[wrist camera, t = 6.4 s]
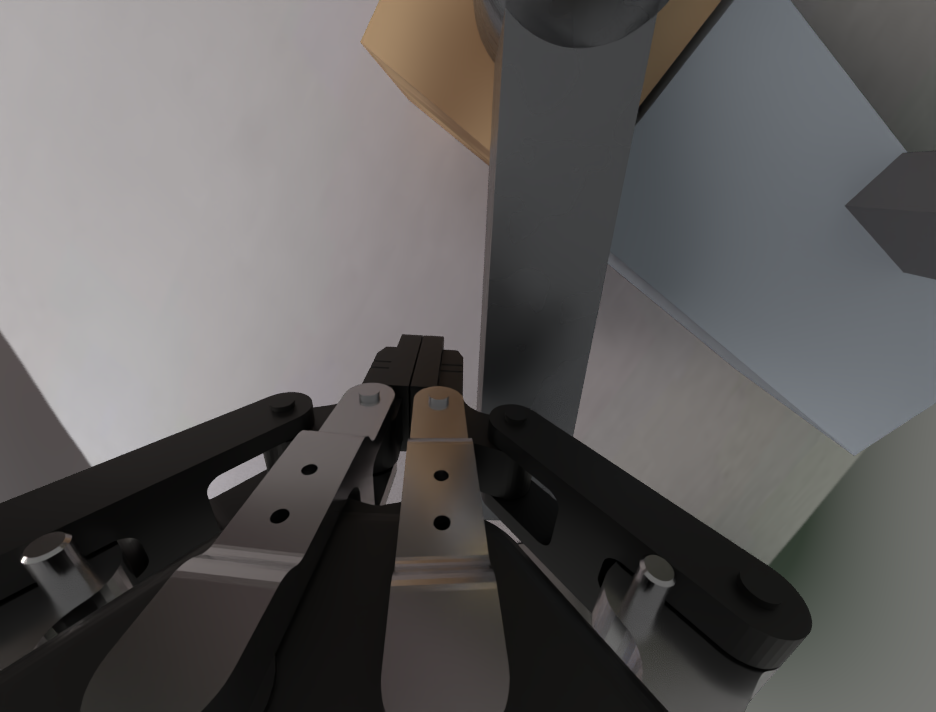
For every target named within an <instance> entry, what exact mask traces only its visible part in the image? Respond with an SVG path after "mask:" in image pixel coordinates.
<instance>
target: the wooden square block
mask: <svg viewBox="0 0 936 712" xmlns="http://www.w3.org/2000/svg"><path fill="white" fill-rule="evenodd" d="M720 2H721V0H669V2H668V3H667V4H666V5H665V6H664V7H663V8H662V9H661V10H660V11H659V12H658V13H657V18H656V23H655V28H654V33H653V38H652V43H651V48H650V53H649V58H648V63H647V68H646V73H645V78H644V83H643V88H642V93H641V98H640V103H639V106H640V105H641V104H642V102H643V101H644V100H645V98H646V97H647V96H648V95H649V93H650V92H651V91H652V89H653V88H654V87H655V86H656V84H657V83H658V82H659V80H660V79H661V78H662V76H663V75H664V74H665V73H666V71H667V70H668V69H669V67H670V66H671V65H672V64H673V62H674V61H675V60H676V58H677V57H678V56H679V55H680V53H681V52H682V51H683V49H684V48H685V47H686V45H687V44H688V43H689V42H690V40H691V39H692V38H693V36H694V35H695V34H696V33H697V31H698V30H699V29H700V27H701V26H702V25H703V23H704V22H705V21H706V20H707V18H708V17H709V16H710V14H711V13H712V12H713V11H714V9H715V8H716V7H717V5H718V4H719V3H720ZM361 44H362V45H363V46H364V47H365V48H366V50H367V51H368V52H369V53H370V54H371V56H372V57H373V58H374V59H375V60H376V61H377V63H378V64H379V65H380V66H381V67H382V69H383V70H384V71H385V72H386V73H387V75H388V76H389V77H390V78H391V79H392V81H393V82H394V83H395V84H396V85H397V87H398V88H399V89H400V90H401V91H402V92H403V94H404V95H405V96H406V97H407V98H408V100H410V101H411V102H412V103H413V104H415V105H416V106H417V107H418V108H419V109H421V110H422V111H423V112H424V113H425V114H427V115H428V116H429V117H430V118H432V119H433V120H434V121H435V122H436V123H438V124H439V125H440V126H441V127H442V128H444V129H445V130H446V131H447V132H449V133H450V134H451V135H452V136H453V137H455V138H456V139H457V140H458V141H459V142H461V143H462V144H463V145H464V146H466V147H467V148H468V149H469V150H470V151H472V152H473V153H474V154H475V155H476V156H478V157H479V158H480V159H481V160H483V161H484V162H485V163H486V164H487V165H489V161H490V142H491V123H492V104H493V85H494V66H495V64H494V62H493V61H492V59H491V58H490V56H489V55H488V53H487V51H486V49H485V47H484V45H483V43H482V41H481V38H480V35H479V32H478V29H477V24H476V20H475V14H474V5H473V0H379V3H378V5H377V7H376V9H375V11H374V13H373V16H372V18H371V20H370V22H369V24H368V27H367V29H366V31H365V33H364V35H363V37H362V40H361Z"/></svg>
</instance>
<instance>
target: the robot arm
mask: <svg viewBox="0 0 936 712" xmlns="http://www.w3.org/2000/svg"><path fill="white" fill-rule="evenodd" d="M400 451H407V452H406V462H405V471H404V481H403V491H402V501H401V502H399V503H393V504H387V505H385V504H386V501H387V499H388V496H389V493H390V490H391V487H392V484H393V481H394V478H395V475H396V472H397V460H398V457H399V453H400ZM262 453H263V454H264V458H265V463H266V467H267V470H265V471H263V472H261V473H259V474H257V475H255V476H254V477H252V478H250V479H248V480H246V481H244V482H242V483H241V484H239V485H237V486H235V487H233V488H231V489H229V490H227V491H226V492H224V493H222V494H220V495H218V496H216V497H214V498H212V499H210V500H209V499H208V496H207V489H208V487H209V485H210V483H211V482H212V481H213V480H214V479H215V478H216V477H217V476H219V475H221V474H222V473H224V472H226V471H228V470H230V469H232V468H234V467H236V466H238V465H240V464H242V463H244V462H246V461H248V460H250V459H252V458H254V457H256V456H258V455H260V454H262ZM532 476H533V477H534V478H535V479H537V480H538V481H539V482H540V483H541V484H543V485H544V486H545V487H546V488H547V489H549V490H550V491H551V492H552V494H553V495H554V496H555V498H556V500H557V501H556V500H555V499H554V498H553V497H551V496H550V495H549V494H548V493H547V492H546V491H544V490H543V489H542V488H541V487H540V486H538V485H537V484H536V483H535V482H534V481H532V480H531V478H532ZM480 492H481V496H480ZM481 498H482V500H483V502H484V504H485V505H486V506H487V507H488V508H489V509H490V510H491V511H492V512H493V513H494V514H495V515H496V516H497V517H498V518H499V519H500V520H501V521H502V522H503V523H504V524H505V525H506V526H507V527H508V528H509V529H510V531H511V532H512V533H513V534H514V535H515V536H516V537H517V538H518V539H519V540H520V541H521V542H522V543H523V544H517V543H516V542H515V541H514V540H513V539H512V538H511V537H510V536H509V535H508V534H506V533H505V532H504V531H503V530H501V529H500V528H498V527H497V526H495V525H494V524H492V523H490V522H488V521H486V520H484V517H483V510H482V503H481ZM811 628H812V619H811V615H810V612H809V609H808V607H807V605H806V603H805V602H804V600H803V598H802V597H801V596H800V594H799V593H798V592H797V591H796V589H795V588H794V587H793V586H792V585H791V584H790V583H789V582H788V581H787V580H786V579H785V578H784V577H782V576H781V575H780V574H779V573H778V572H776V571H775V570H773V569H772V568H771V567H769V566H768V565H766V564H765V563H763V562H762V561H760V560H759V559H757V558H756V557H754V556H753V555H751V554H749V553H748V552H746V551H745V550H743V549H742V548H740V547H739V546H737V545H736V544H734V543H733V542H731V541H730V540H728V539H727V538H725V537H724V536H722V535H721V534H719V533H718V532H716V531H715V530H713V529H712V528H710V527H709V526H707V525H706V524H704V523H703V522H701V521H700V520H698V519H697V518H695V517H693V516H692V515H690V514H689V513H687V512H686V511H684V510H683V509H681V508H680V507H678V506H677V505H675V504H674V503H672V502H671V501H669V500H668V499H666V498H665V497H663V496H662V495H660V494H659V493H657V492H656V491H654V490H653V489H651V488H650V487H648V486H647V485H645V484H644V483H642V482H641V481H639V480H637V479H636V478H634V477H633V476H631V475H630V474H628V473H627V472H625V471H624V470H622V469H621V468H619V467H618V466H616V465H615V464H613V463H612V462H610V461H609V460H607V459H606V458H604V457H603V456H601V455H600V454H598V453H597V452H595V451H594V450H592V449H591V448H589V447H588V446H586V445H585V444H583V443H581V442H580V441H578V440H577V439H575V438H574V437H572V436H571V435H569V434H568V433H566V432H565V431H563V430H562V429H560V428H559V427H557V426H556V425H554V424H553V423H551V422H550V421H548V420H547V419H545V418H544V417H542V416H541V415H539V414H538V413H536V412H535V411H533V410H531V409H529V408H527V407H524V406H521V405H515V404H505V405H500V406H498V407H496V408H494V409H493V410H492V411H491V412H490V415H489V414H485V413H482V412H478V411H476V410H474V409H472V408H470V407H469V406H468V405H467V404H466V403H465V402H464V400H463V357H462V355H461V354H460V353H459V352H458V351H456V350H444V337H441V336H422V335H405V334H402V336H401V339H400V341H399V344H398V346H397V347H385V348H384V349H382V350H381V351H379V352H378V353H377V355H376V357H375V359H374V362H373V363H372V365H371V368H370V369H369V371H368V373H367V375H366V377H365V379H364V381H363V383H362V384H359V385H356V386H354V387H352V388H350V389H349V390H347V391H346V393H345V394H344V395H343V397H342V398H341V400H340V401H339V402H338V404H334V405H328V406H321V407H314V408H313V404H312V400H311V398H310V397H309V396H307V395H305V394H302V393H297V392H287V393H280V394H276V395H273V396H270V397H267V398H265V399H262V400H260V401H257V402H255V403H252V404H250V405H247V406H245V407H242V408H240V409H237V410H235V411H232V412H229V413H227V414H224V415H222V416H219V417H217V418H214V419H212V420H209V421H207V422H204V423H202V424H199V425H197V426H194V427H192V428H189V429H187V430H184V431H182V432H179V433H176V434H174V435H171V436H169V437H166V438H164V439H161V440H159V441H156V442H154V443H151V444H149V445H146V446H144V447H141V448H139V449H136V450H134V451H131V452H129V453H126V454H123V455H121V456H118V457H116V458H113V459H111V460H108V461H106V462H103V463H101V464H98V465H96V466H93V467H91V468H88V469H86V470H83V471H81V472H78V473H76V474H73V475H71V476H68V477H65V478H63V479H61V480H58V481H55V482H53V483H50V484H48V485H45V486H43V487H41V488H38V489H35V490H33V491H30V492H28V493H25V494H23V495H20V496H17V497H15V498H12V499H10V500H7V501H5V502H2V503H0V712H745V710H746V708H747V705H748V703H749V702H750V701H751V700H752V699H753V697H754V696H755V695H756V694H757V693H758V692H759V690H760V689H761V688H762V687H763V686H764V685H765V684H766V682H767V681H768V680H769V679H770V678H771V677H772V675H773V674H774V673H775V672H776V671H777V670H778V669H779V667H780V666H781V665H782V664H783V663H784V662H785V660H786V659H787V658H788V657H789V656H790V655H791V654H792V652H793V651H794V650H795V649H796V648H797V647H798V646H799V645H800V643H801V642H802V641H803V640H804V639H805V638H806V636H807V635H808V634H809V633H810V631H811Z"/></svg>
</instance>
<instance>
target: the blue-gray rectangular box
mask: <svg viewBox="0 0 936 712" xmlns="http://www.w3.org/2000/svg"><path fill="white" fill-rule="evenodd" d="M608 264H609V265H610V266H611V267H612V268H614V269H615V270H616V271H617V272H618V273H620V274H621V275H622V276H623V277H625V278H626V279H627V280H628V281H629V282H631V283H632V284H633V285H634V286H635V287H637V288H638V289H639V290H640V291H641V292H643V293H644V294H645V295H646V296H648V297H649V298H650V299H651V300H652V301H654V302H655V303H656V304H657V305H658V306H660V307H661V308H662V309H663V310H665V311H666V312H667V313H668V314H669V315H671V316H672V317H673V318H674V319H675V320H677V321H678V322H679V323H680V324H682V325H683V326H684V327H685V328H686V329H688V330H689V331H690V332H691V333H692V334H694V335H695V336H696V337H697V338H699V339H700V340H701V341H702V342H703V343H705V344H706V345H707V346H708V347H709V348H711V349H712V350H713V351H714V352H716V353H717V354H718V355H719V356H720V357H722V358H723V359H724V360H725V361H726V362H728V363H729V364H730V365H731V366H733V367H734V368H735V369H736V370H738V371H739V372H740V373H742V374H743V375H745V376H746V377H747V378H749V379H750V380H751V381H753V382H754V383H755V384H757V385H758V386H760V387H761V388H762V389H764V390H765V391H766V392H768V393H769V394H770V395H772V396H773V397H775V398H776V399H777V400H779V401H780V402H781V403H783V404H784V405H786V406H787V407H788V408H790V409H791V410H792V411H794V412H795V413H796V414H798V415H799V416H801V417H802V418H803V419H805V420H806V421H807V422H809V423H810V424H811V425H813V426H814V427H816V428H817V429H818V430H820V431H821V432H822V433H824V434H825V435H826V436H828V437H829V438H831V439H832V440H833V441H835V442H836V443H837V444H839V445H840V446H841V447H843V448H844V449H846V450H847V451H848V452H850V453H851V454H852V455H856V454H857V453H859V452H861V451H862V450H864V449H865V448H867V447H868V446H870V445H871V444H873V443H874V442H876V441H878V440H879V439H881V438H882V437H884V436H885V435H887V434H888V433H890V432H891V431H893V430H895V429H896V428H898V427H899V426H901V425H902V424H904V423H905V422H907V421H908V420H910V419H912V418H913V417H915V416H916V415H918V414H919V413H921V412H922V411H924V410H926V409H927V408H929V407H930V406H932V405H933V404H935V403H936V151H925V152H907V151H906V150H905V149H904V147H903V146H902V145H901V143H900V142H899V141H898V139H897V138H896V137H895V136H894V134H893V133H892V132H891V130H890V129H889V128H888V127H887V125H886V124H885V123H884V121H883V120H882V119H881V117H880V116H879V115H878V114H877V112H876V111H875V110H874V108H873V107H872V106H871V104H870V103H869V102H868V101H867V99H866V98H865V97H864V95H863V94H862V93H861V91H860V90H859V89H858V88H857V86H856V85H855V84H854V82H853V81H852V80H851V79H850V77H849V76H848V75H847V73H846V72H845V71H844V69H843V68H842V67H841V66H840V64H839V63H838V62H837V60H836V59H835V58H834V56H833V55H832V54H831V53H830V51H829V50H828V49H827V47H826V46H825V45H824V43H823V42H822V41H821V40H820V38H819V37H818V36H817V34H816V33H815V32H814V31H813V29H812V28H811V27H810V25H809V24H808V23H807V21H806V20H805V19H804V18H803V16H802V15H801V14H800V12H799V11H798V10H797V8H796V7H795V6H794V5H793V3H792V2H791V1H790V0H721V2H720V3H719V4H718V5H717V7H716V8H715V9H714V11H713V12H712V13H711V14H710V16H709V17H708V18H707V20H706V21H705V22H704V23H703V25H702V26H701V27H700V29H699V30H698V31H697V33H696V34H695V35H694V36H693V38H692V39H691V40H690V42H689V43H688V44H687V45H686V47H685V48H684V49H683V51H682V52H681V53H680V55H679V56H678V57H677V58H676V60H675V61H674V62H673V64H672V65H671V66H670V67H669V69H668V70H667V71H666V73H665V74H664V75H663V76H662V78H661V79H660V80H659V82H658V83H657V84H656V86H655V87H654V88H653V89H652V91H651V92H650V93H649V95H648V96H647V97H646V98H645V100H644V101H643V102H642V104H641V105H640V106H639V108H638V113H637V118H636V123H635V128H634V133H633V138H632V143H631V148H630V153H629V158H628V163H627V168H626V173H625V178H624V183H623V188H622V193H621V198H620V203H619V208H618V213H617V218H616V223H615V228H614V233H613V238H612V243H611V248H610V253H609V258H608Z"/></svg>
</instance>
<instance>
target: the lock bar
mask: <svg viewBox="0 0 936 712" xmlns="http://www.w3.org/2000/svg"><path fill="white" fill-rule="evenodd" d="M668 2H669V0H473V5H474V14H475V20H476V24H477V29H478V32H479V35H480V38H481V41H482V43H483V45H484V47H485V49H486V51H487V53H488V55H489V56H490V58H491V59H492V61H493V62H494V64H495V66H494V85H493V104H492V123H491V142H490V161H489V180H488V200H487V219H486V238H485V257H484V276H483V295H482V314H481V333H480V352H479V371H478V390H477V409H476V411H478V412H482V413H485V414H489V415H490V412H491V411H492V410H493V409H494V408H496V407H498V406H500V405H505V404H515V405H521V406H524V407H527V408H529V409H531V410H533V411H535V412H536V413H538V414H539V415H541V416H542V417H544V418H545V419H547V420H548V421H550V422H551V423H553V424H554V425H556V426H557V427H559V428H560V429H562V430H563V431H565V432H566V433H568V434H569V435H571V436H572V437H573V434H574V429H575V424H576V419H577V414H578V409H579V404H580V399H581V394H582V389H583V384H584V379H585V374H586V368H587V363H588V358H589V353H590V348H591V343H592V338H593V333H594V328H595V323H596V318H597V313H598V308H599V303H600V298H601V293H602V288H603V283H604V278H605V273H606V268H607V263H608V258H609V253H610V248H611V243H612V238H613V233H614V228H615V223H616V218H617V213H618V208H619V203H620V198H621V193H622V188H623V183H624V178H625V173H626V168H627V163H628V158H629V153H630V148H631V143H632V138H633V133H634V128H635V123H636V118H637V113H638V108H639V103H640V98H641V93H642V88H643V83H644V78H645V73H646V68H647V63H648V58H649V53H650V48H651V43H652V38H653V33H654V28H655V23H656V18H657V13H658V12H659V11H660V10H661V9H662V8H663V7H664V6H665V5H666V4H667V3H668ZM531 480H532V481H534V482H535V483H536V484H537V485H538V486H540V487H541V488H542V489H543V490H544V491H546V492H547V493H548V494H549V495H550V496H551V497H553V498H554V499H555V500H556V498H555V496H554V495H553V494H552V492H551V491H550V490H549V489H547V488H546V487H545V486H544V485H543V484H541V483H540V482H539V481H538V480H537V479H535V478H534V477H533V476H532V478H531ZM480 496H481V492H480ZM556 501H557V500H556ZM481 503H482V510H483V517H484V520H500V519H499V518H498V517H497V516H496V515H495V514H494V513H493V512H492V511H491V510H490V509H489V508H488V507H487V506H486V505H485V504H484V502H483V500H482V498H481Z"/></svg>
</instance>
